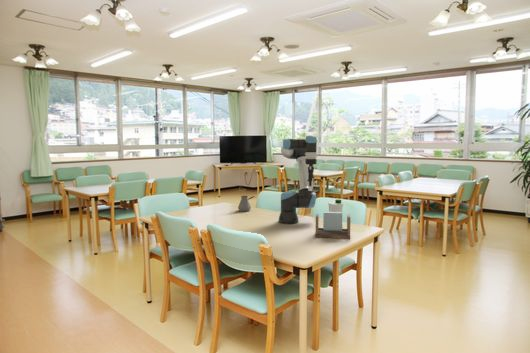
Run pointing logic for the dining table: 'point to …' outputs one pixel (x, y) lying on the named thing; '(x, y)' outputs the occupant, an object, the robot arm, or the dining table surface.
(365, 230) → the dining table surface
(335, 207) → the milk carton
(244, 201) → the coffee pot
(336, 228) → the door panel
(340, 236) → the track frame
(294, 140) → the robot arm
